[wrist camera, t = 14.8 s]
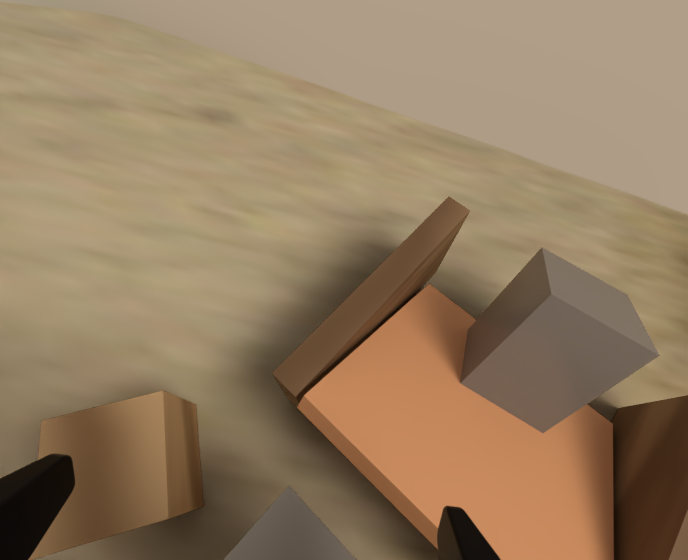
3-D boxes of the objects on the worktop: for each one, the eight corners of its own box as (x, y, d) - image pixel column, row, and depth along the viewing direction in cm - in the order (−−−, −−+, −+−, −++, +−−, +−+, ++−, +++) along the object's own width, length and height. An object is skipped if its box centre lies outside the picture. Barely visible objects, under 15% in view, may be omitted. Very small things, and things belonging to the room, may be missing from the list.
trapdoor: (576, 445, 24) (612, 423, 22) (482, 1320, 6) (620, 1549, 5) (409, 311, 28) (428, 283, 26) (70, 630, 10) (59, 613, 9)
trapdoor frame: (640, 424, 23) (768, 409, 16) (534, 647, 18) (656, 757, 11) (420, 260, 28) (448, 196, 21) (288, 399, 23) (271, 373, 16)
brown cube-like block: (195, 404, 23) (163, 390, 18) (203, 506, 20) (168, 518, 16) (100, 429, 22) (41, 420, 17) (97, 538, 19) (27, 560, 15)
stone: (536, 369, 23) (626, 294, 19) (542, 433, 19) (659, 355, 15) (467, 329, 24) (542, 247, 20) (460, 383, 20) (551, 294, 15)
